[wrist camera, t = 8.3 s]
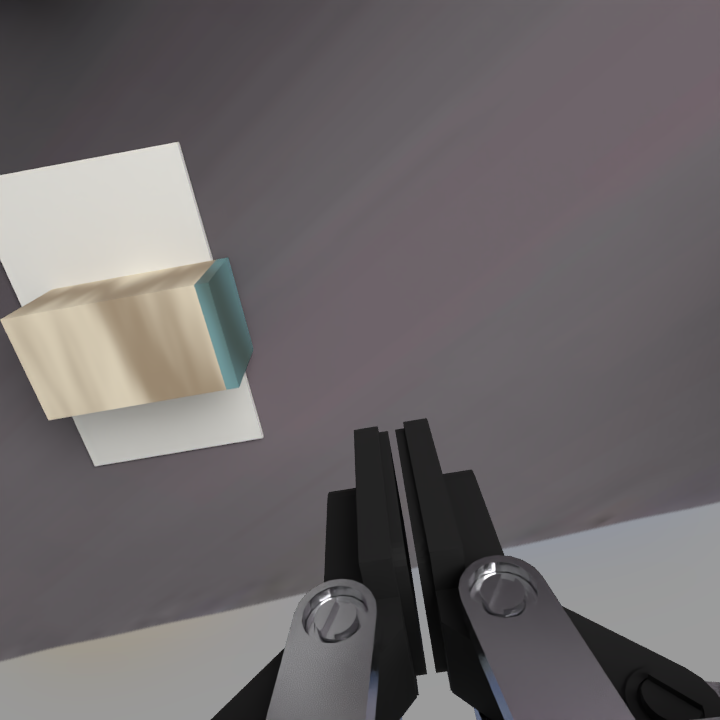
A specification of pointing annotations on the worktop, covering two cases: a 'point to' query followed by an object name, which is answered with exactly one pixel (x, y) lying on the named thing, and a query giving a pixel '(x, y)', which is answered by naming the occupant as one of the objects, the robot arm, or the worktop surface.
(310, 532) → the worktop surface
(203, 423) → the mat
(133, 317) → the tall block
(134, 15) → the worktop surface
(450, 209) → the worktop surface
